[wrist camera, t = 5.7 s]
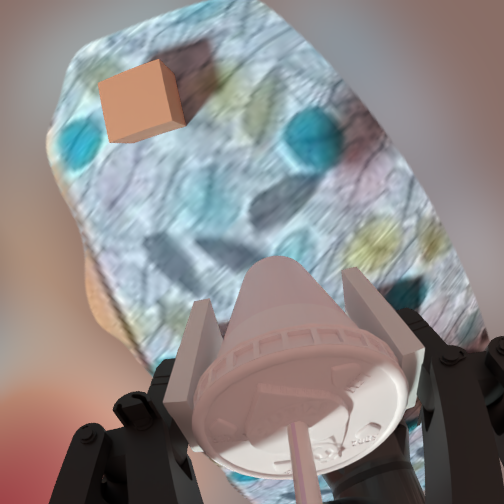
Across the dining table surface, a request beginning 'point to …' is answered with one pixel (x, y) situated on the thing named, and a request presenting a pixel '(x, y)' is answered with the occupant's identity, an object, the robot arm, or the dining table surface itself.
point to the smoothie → (295, 384)
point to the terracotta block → (141, 103)
